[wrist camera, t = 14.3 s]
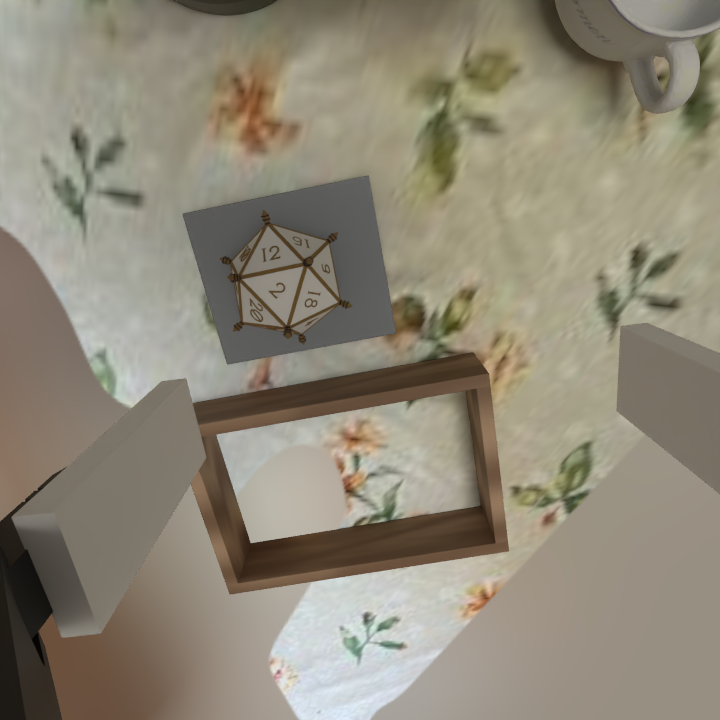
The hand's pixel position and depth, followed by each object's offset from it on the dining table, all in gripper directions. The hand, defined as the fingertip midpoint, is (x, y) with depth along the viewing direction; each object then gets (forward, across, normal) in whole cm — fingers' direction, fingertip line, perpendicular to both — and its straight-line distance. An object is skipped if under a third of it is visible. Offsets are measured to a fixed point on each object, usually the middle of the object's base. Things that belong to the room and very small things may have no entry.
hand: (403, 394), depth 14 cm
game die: (+24, -6, +1) cm, 24 cm away
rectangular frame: (+24, -4, -16) cm, 29 cm away
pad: (+24, -6, +1) cm, 25 cm away
